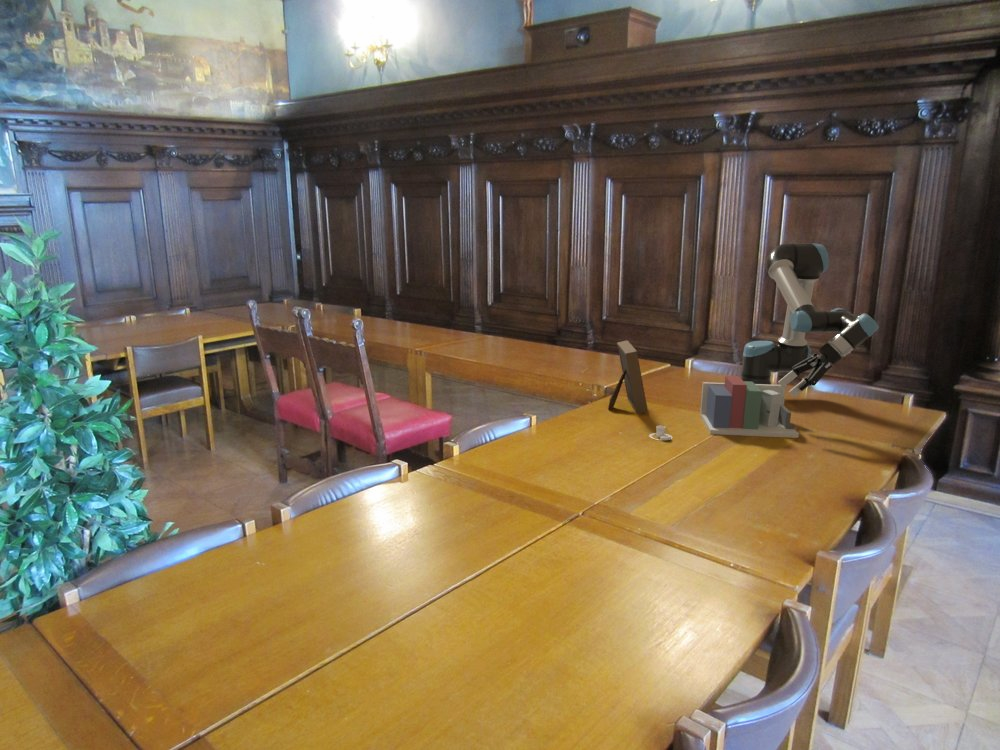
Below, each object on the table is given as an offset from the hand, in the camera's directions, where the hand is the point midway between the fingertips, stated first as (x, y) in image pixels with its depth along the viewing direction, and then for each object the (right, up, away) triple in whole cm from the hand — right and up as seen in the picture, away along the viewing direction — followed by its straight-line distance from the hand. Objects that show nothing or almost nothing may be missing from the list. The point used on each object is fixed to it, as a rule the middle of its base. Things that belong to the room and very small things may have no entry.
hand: (785, 389), depth 240 cm
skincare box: (-5, -13, +4) cm, 14 cm away
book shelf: (-12, -14, +5) cm, 19 cm away
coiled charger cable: (-48, -18, -8) cm, 52 cm away
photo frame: (-52, -8, +31) cm, 61 cm away
